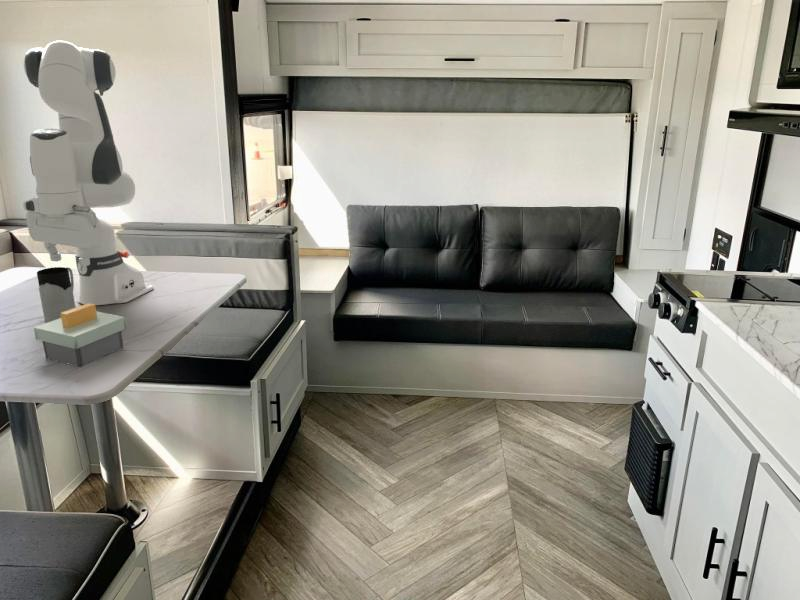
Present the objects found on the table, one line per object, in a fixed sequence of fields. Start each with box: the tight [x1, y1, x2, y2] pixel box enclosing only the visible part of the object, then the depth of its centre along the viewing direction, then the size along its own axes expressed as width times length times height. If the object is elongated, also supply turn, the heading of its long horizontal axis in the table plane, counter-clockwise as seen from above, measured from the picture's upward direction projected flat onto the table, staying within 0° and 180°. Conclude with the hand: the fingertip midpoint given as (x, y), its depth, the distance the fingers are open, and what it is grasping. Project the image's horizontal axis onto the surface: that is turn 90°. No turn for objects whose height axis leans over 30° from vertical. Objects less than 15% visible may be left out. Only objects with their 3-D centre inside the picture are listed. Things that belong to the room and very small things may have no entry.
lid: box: [33, 303, 127, 349], centre depth 150 cm, size 14×13×6 cm
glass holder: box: [36, 266, 76, 324], centre depth 172 cm, size 9×14×15 cm, turn 2°
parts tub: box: [42, 330, 124, 368], centre depth 152 cm, size 13×12×7 cm
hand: (70, 263), depth 145 cm, fingers open, 8 cm apart
